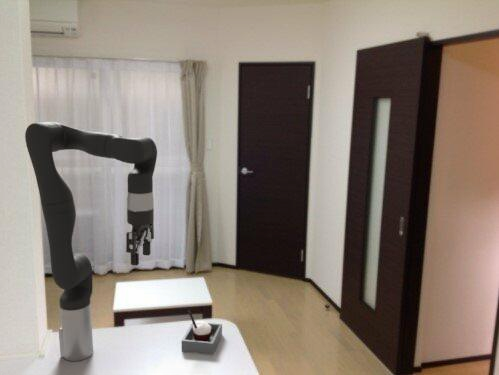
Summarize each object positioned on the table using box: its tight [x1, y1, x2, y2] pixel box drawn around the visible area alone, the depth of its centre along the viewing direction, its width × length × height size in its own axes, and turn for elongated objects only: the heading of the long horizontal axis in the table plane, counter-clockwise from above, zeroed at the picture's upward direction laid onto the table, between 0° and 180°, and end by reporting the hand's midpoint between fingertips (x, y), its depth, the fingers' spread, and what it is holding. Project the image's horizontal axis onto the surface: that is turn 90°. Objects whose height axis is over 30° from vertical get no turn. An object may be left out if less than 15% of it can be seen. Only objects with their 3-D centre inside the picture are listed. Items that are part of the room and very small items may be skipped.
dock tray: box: [181, 321, 223, 356], centre depth 161 cm, size 11×14×4 cm
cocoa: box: [187, 309, 214, 342], centre depth 160 cm, size 10×6×12 cm, turn 102°
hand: (140, 259), depth 140 cm, fingers open, 8 cm apart
